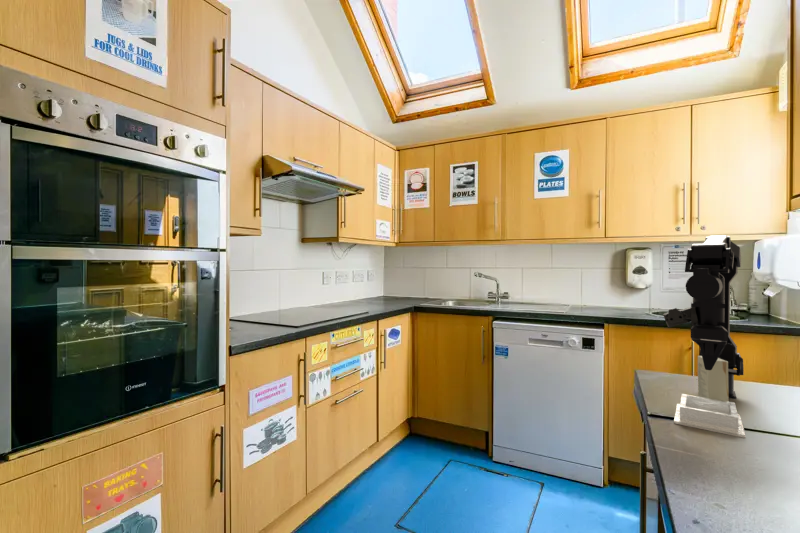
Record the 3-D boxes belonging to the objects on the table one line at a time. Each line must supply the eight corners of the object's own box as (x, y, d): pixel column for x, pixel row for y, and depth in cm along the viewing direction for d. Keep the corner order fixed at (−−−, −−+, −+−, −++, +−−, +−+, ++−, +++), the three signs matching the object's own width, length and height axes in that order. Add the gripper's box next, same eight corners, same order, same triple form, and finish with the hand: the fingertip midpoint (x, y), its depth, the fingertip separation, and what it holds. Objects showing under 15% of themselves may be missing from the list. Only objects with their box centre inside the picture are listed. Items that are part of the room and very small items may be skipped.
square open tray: (677, 405, 98) (677, 391, 98) (739, 417, 91) (739, 401, 91) (674, 423, 87) (674, 407, 87) (745, 438, 80) (745, 420, 80)
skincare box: (729, 412, 94) (729, 361, 94) (708, 410, 96) (708, 360, 95) (716, 403, 100) (717, 356, 100) (696, 401, 102) (697, 354, 102)
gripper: (668, 294, 101) (668, 353, 101) (662, 298, 87) (662, 368, 87) (723, 296, 95) (723, 360, 95) (728, 301, 80) (727, 377, 80)
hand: (707, 365), depth 89 cm, fingers open, 9 cm apart
